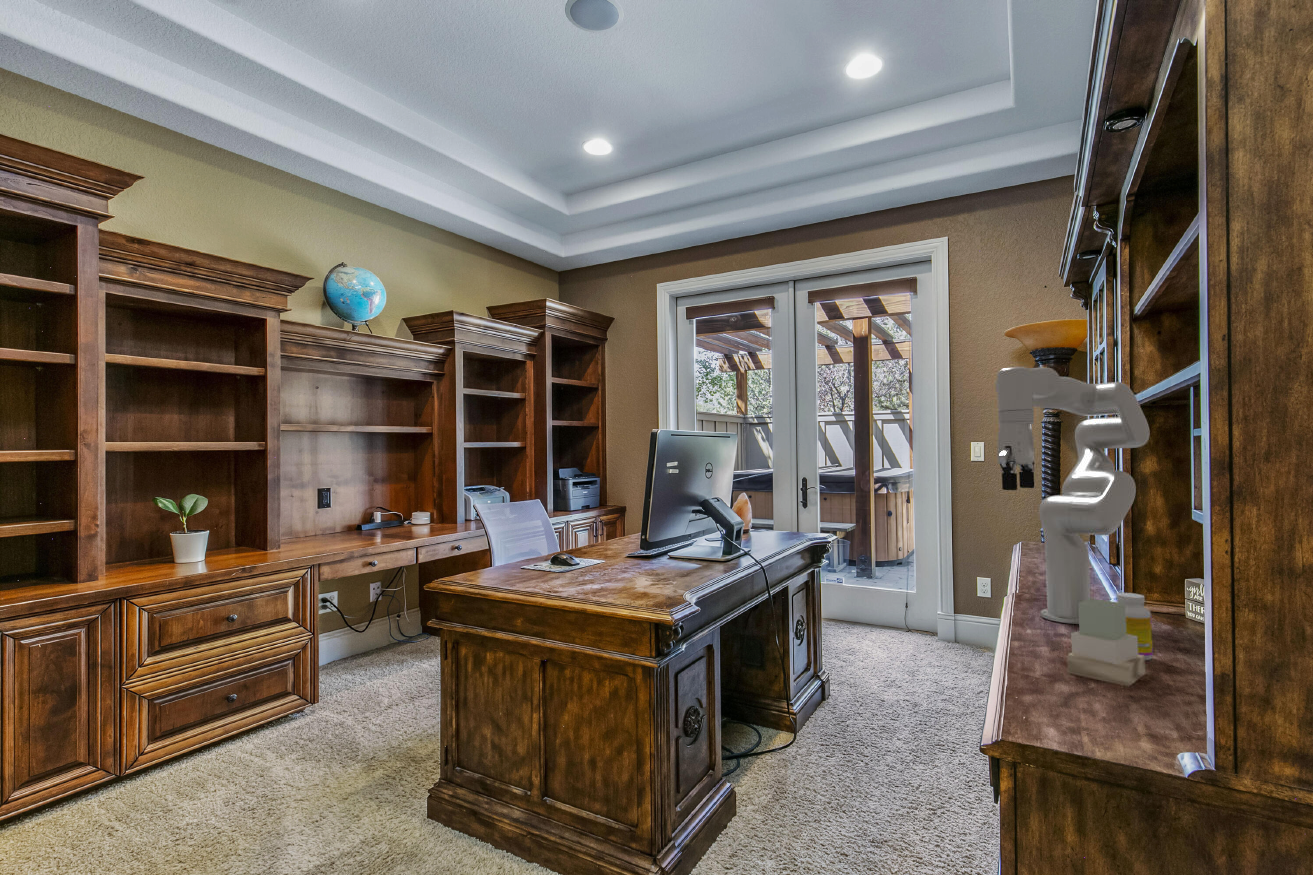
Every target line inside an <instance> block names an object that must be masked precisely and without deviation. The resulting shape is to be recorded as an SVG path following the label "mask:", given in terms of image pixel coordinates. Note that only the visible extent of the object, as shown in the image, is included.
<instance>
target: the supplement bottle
mask: <svg viewBox="0 0 1313 875" xmlns="http://www.w3.org/2000/svg"><path fill="white" fill-rule="evenodd" d="M1145 598H1146V597H1145V595H1143V594H1138V593H1135V592H1133V593H1132V592H1118V593H1117V594H1116V600H1117V602H1118V603H1125V609H1126V634H1129V635H1134V636H1137V640H1138V654H1139V655H1145V661H1151V660H1152V659H1153V658H1154V650H1153V649H1154V647H1153V628H1152V626H1153V625H1152V612H1151V611H1150V610H1149V609H1148V608H1147V607H1146V606H1145V607H1144V604H1145V602H1146V600H1145Z"/></svg>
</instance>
